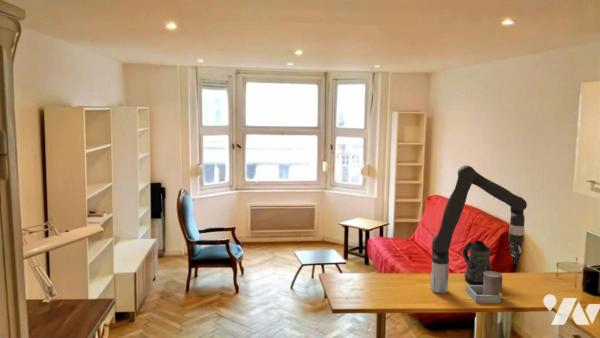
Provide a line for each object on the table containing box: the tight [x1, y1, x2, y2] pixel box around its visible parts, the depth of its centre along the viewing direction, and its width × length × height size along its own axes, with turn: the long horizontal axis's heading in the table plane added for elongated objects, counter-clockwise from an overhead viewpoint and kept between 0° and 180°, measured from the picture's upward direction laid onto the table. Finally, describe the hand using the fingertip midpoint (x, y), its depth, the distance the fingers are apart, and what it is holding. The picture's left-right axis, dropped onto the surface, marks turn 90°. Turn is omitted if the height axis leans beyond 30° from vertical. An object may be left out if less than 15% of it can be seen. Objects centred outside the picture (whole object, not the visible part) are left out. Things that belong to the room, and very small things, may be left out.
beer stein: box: [462, 240, 492, 285], centre depth 271 cm, size 16×19×25 cm
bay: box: [465, 284, 503, 304], centre depth 248 cm, size 14×15×5 cm
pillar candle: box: [482, 270, 503, 295], centre depth 247 cm, size 10×10×15 cm
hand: (514, 263), depth 245 cm, fingers closed
